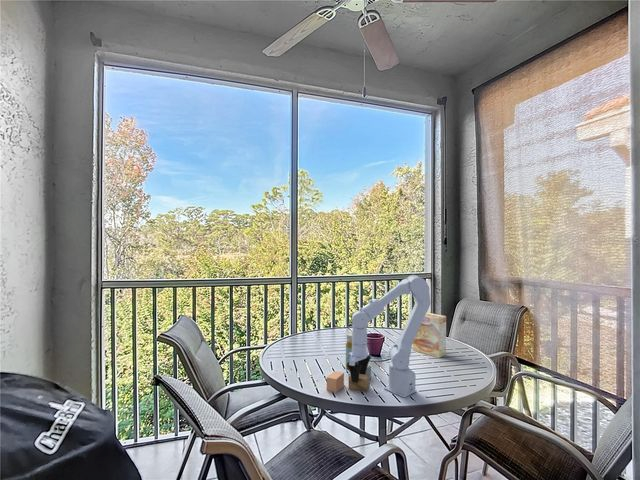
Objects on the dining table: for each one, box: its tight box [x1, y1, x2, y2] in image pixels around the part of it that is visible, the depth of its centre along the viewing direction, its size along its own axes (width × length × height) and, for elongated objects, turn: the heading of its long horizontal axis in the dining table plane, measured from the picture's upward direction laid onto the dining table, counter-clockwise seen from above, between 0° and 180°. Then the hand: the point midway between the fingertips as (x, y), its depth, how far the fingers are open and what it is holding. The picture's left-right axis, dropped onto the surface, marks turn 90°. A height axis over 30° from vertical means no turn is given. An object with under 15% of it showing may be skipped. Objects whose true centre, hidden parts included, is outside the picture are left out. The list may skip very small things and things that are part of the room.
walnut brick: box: [348, 374, 371, 393], centre depth 130 cm, size 7×4×5 cm, turn 62°
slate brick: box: [359, 364, 372, 379], centre depth 139 cm, size 7×4×5 cm, turn 132°
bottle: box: [345, 331, 358, 370], centre depth 150 cm, size 7×7×15 cm
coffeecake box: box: [412, 312, 447, 358], centre depth 171 cm, size 15×7×20 cm, turn 42°
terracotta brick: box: [326, 370, 345, 393], centre depth 130 cm, size 7×4×5 cm, turn 152°
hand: (358, 378), depth 130 cm, fingers open, 7 cm apart
